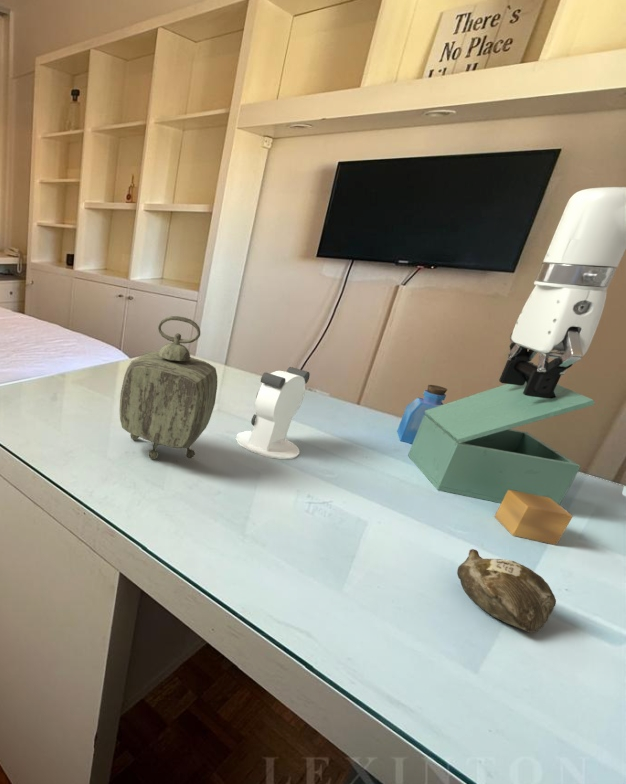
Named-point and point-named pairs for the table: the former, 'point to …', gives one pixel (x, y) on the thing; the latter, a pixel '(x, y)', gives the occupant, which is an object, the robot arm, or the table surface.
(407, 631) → the table surface
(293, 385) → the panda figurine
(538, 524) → the block
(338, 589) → the table surface
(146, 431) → the tabletop clock
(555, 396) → the lid
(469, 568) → the fossilized seashell
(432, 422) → the green storage box
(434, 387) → the perfume bottle
